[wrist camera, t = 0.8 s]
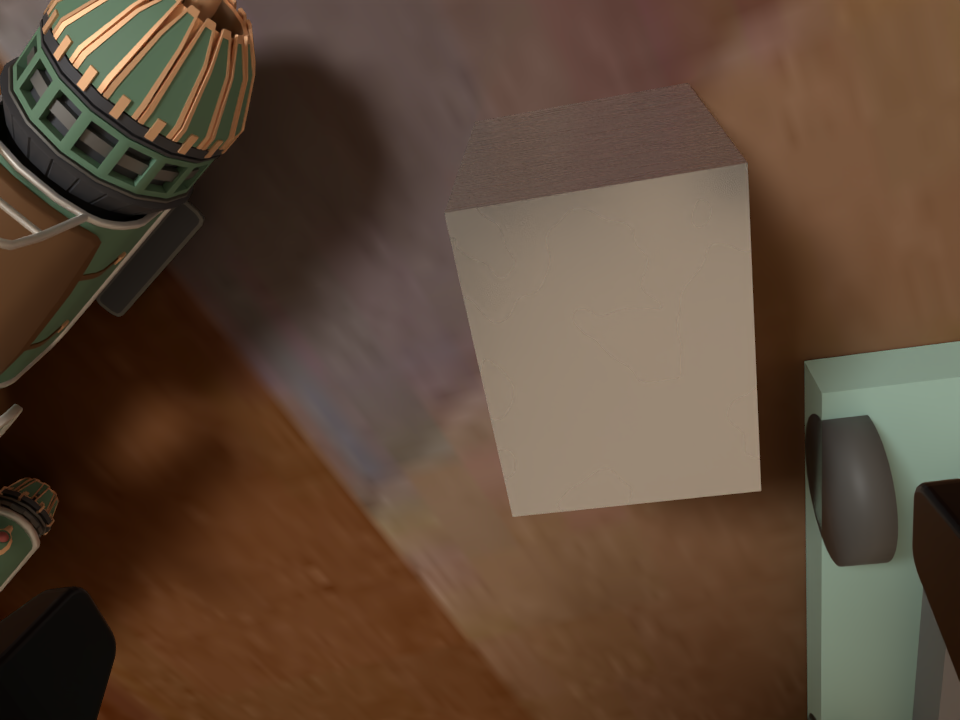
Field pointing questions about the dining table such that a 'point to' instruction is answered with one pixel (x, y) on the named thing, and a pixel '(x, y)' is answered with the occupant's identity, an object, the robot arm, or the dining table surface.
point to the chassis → (876, 531)
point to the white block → (611, 301)
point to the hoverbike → (103, 177)
